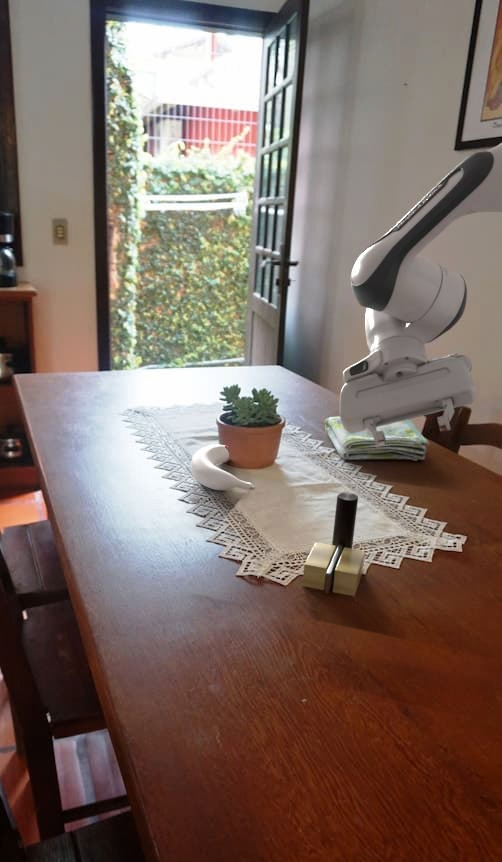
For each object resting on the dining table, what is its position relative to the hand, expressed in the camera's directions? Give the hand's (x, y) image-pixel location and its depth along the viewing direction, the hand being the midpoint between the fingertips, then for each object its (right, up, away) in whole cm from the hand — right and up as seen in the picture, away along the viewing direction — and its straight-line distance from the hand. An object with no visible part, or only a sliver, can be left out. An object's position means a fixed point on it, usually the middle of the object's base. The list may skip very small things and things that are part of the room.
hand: (412, 436), depth 101 cm
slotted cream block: (-11, -19, -3) cm, 22 cm away
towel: (+5, +2, +48) cm, 48 cm away
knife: (-13, -20, -8) cm, 25 cm away
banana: (-26, -5, +29) cm, 39 cm away
